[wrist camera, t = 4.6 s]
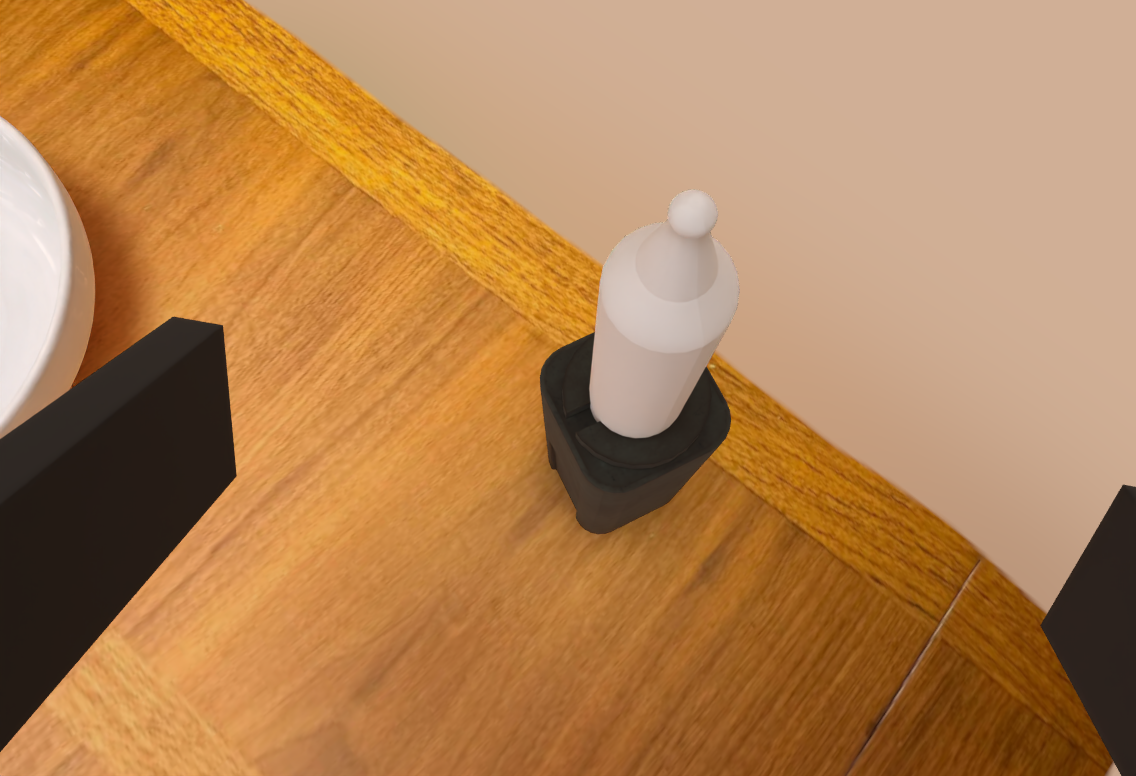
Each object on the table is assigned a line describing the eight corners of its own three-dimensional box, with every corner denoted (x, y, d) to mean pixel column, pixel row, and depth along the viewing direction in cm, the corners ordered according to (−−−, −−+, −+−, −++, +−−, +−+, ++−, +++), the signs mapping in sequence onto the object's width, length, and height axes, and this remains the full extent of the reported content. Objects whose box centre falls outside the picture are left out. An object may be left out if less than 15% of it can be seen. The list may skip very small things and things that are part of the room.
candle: (686, 493, 37) (909, 266, 13) (588, 543, 36) (630, 400, 12) (635, 399, 38) (752, 30, 14) (539, 444, 38) (492, 140, 13)
